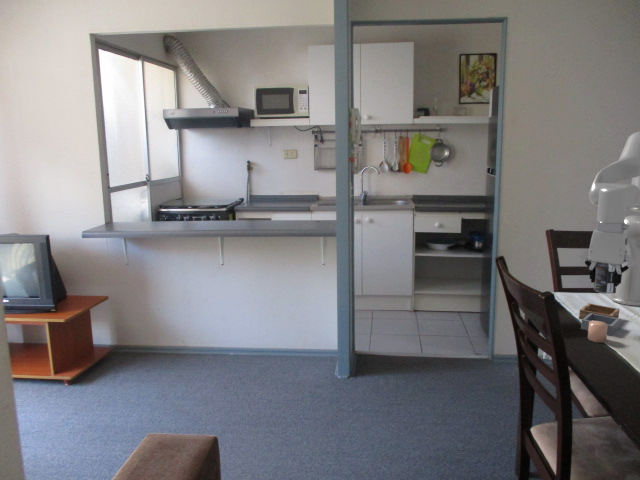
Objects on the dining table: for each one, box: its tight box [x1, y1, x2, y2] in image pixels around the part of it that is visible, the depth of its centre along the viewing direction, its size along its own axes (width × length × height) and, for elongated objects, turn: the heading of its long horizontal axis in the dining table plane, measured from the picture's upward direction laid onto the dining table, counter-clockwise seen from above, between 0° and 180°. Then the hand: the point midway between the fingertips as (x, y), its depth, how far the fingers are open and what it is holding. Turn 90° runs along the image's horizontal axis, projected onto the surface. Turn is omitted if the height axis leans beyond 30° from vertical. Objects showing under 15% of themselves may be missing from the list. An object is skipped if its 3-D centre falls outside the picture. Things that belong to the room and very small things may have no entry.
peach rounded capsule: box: [587, 321, 608, 343], centre depth 163 cm, size 5×5×5 cm
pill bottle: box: [593, 262, 617, 294], centre depth 169 cm, size 6×6×11 cm
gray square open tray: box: [580, 313, 621, 336], centre depth 172 cm, size 9×9×3 cm
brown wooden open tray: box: [578, 302, 620, 320], centre depth 181 cm, size 10×10×3 cm
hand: (604, 283), depth 170 cm, fingers closed on pill bottle, 6 cm apart
